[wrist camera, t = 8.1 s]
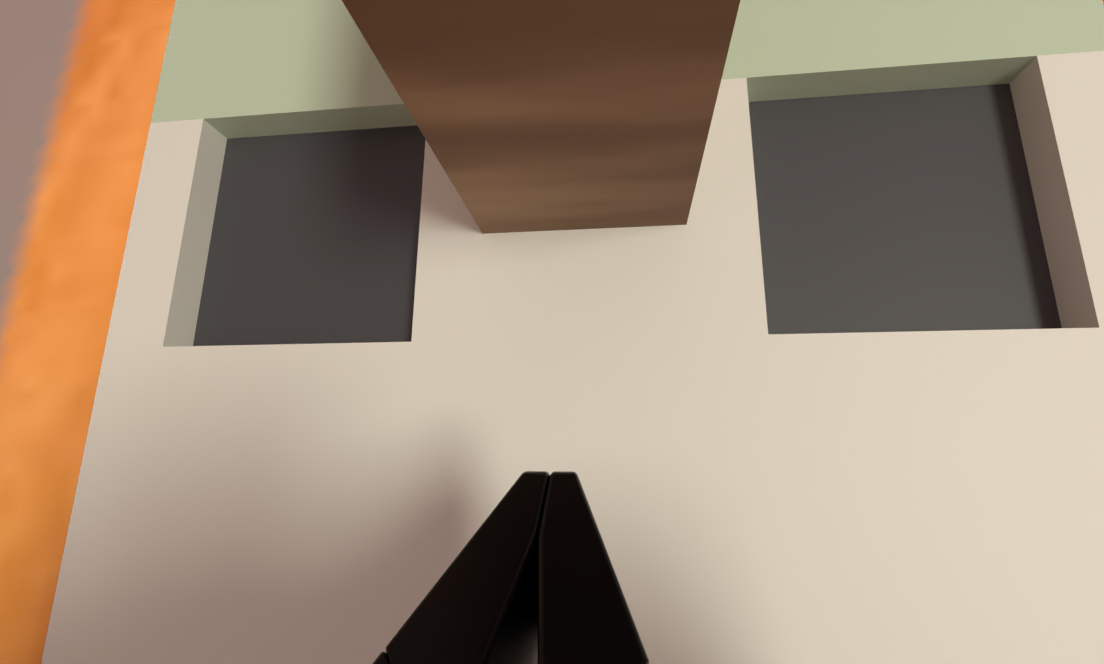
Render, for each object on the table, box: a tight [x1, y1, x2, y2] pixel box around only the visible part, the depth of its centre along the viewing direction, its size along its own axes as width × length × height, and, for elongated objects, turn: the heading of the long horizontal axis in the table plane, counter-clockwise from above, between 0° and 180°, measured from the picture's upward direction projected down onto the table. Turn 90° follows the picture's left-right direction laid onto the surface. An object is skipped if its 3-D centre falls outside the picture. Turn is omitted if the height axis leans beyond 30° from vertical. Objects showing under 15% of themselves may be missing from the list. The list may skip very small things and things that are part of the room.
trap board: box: [41, 0, 1104, 664], centre depth 18 cm, size 31×30×2 cm
